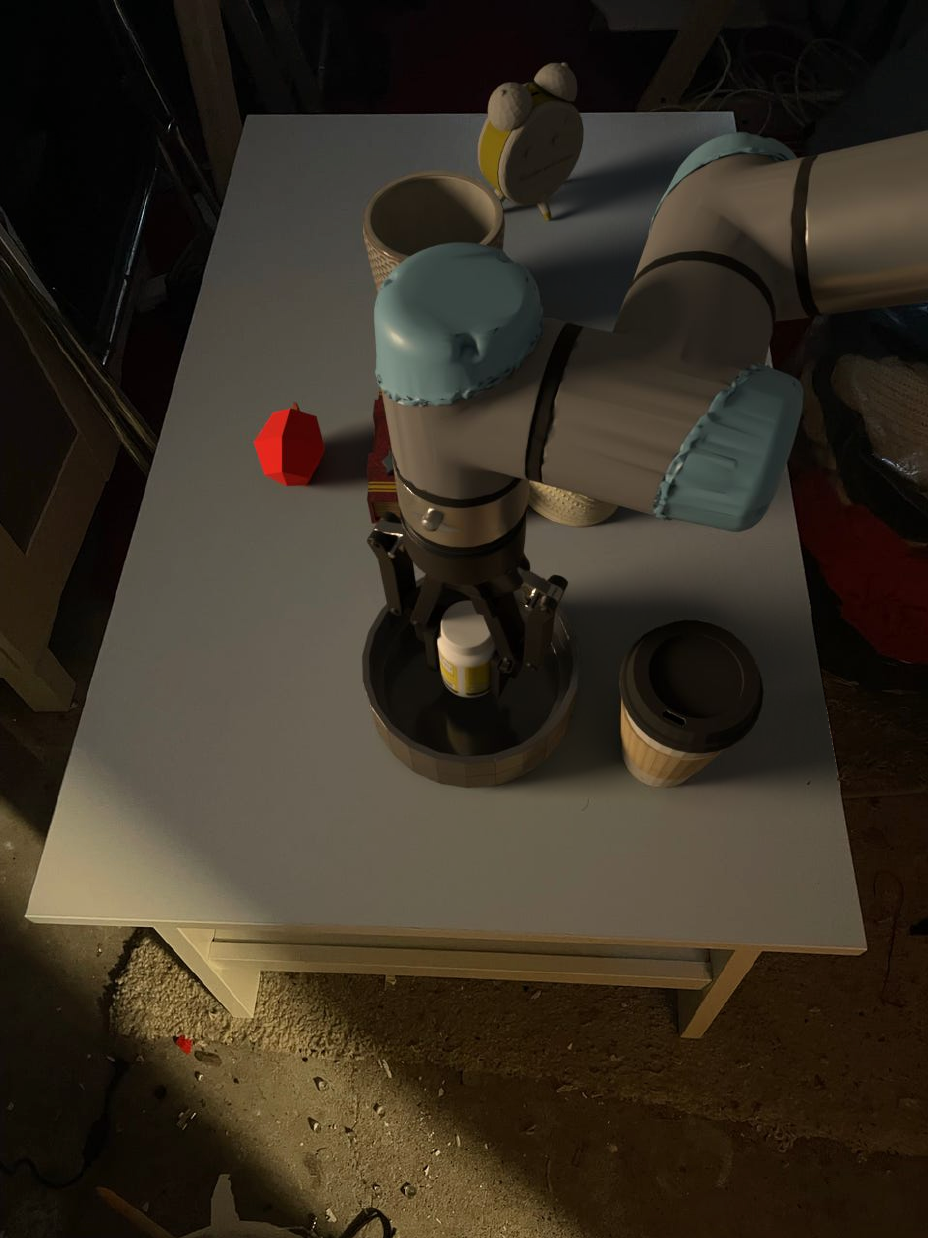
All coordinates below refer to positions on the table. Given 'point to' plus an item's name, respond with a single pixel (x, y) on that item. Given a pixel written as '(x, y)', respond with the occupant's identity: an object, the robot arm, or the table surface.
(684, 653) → the coffee cup
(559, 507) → the seashell
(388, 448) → the decorative book
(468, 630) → the supplement bottle
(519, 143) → the alarm clock
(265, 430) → the apple
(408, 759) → the bowl
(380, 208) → the planter
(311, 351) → the table surface
